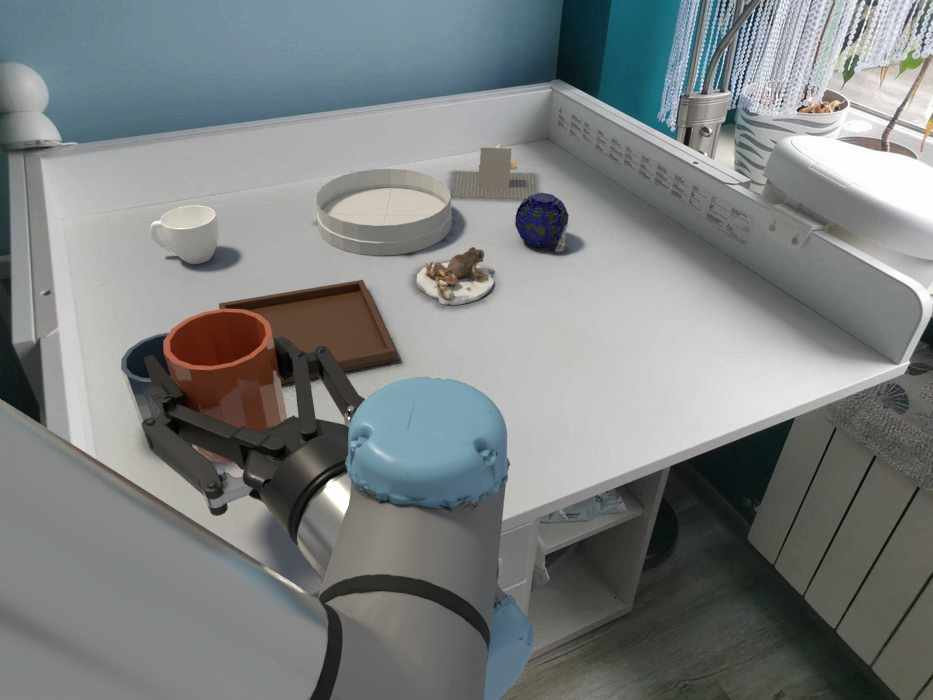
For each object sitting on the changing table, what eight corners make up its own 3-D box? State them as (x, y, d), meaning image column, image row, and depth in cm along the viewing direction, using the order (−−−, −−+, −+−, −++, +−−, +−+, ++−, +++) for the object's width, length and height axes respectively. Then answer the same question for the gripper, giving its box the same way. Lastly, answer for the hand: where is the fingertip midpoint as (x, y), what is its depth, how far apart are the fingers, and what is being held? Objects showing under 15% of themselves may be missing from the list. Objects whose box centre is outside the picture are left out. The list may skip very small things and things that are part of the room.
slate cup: (146, 462, 72) (119, 388, 66) (146, 412, 78) (122, 340, 72) (229, 444, 74) (210, 371, 68) (222, 396, 80) (205, 326, 74)
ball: (571, 236, 114) (576, 192, 109) (558, 257, 108) (563, 212, 103) (524, 227, 116) (527, 184, 111) (509, 247, 110) (512, 203, 106)
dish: (450, 257, 107) (450, 227, 104) (306, 254, 107) (302, 225, 104) (452, 196, 125) (453, 169, 122) (329, 193, 125) (326, 167, 122)
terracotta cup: (193, 472, 57) (164, 378, 51) (188, 409, 63) (162, 318, 57) (294, 450, 60) (277, 357, 53) (280, 390, 66) (264, 301, 60)
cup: (216, 270, 103) (207, 229, 99) (148, 269, 103) (136, 228, 99) (230, 245, 109) (222, 205, 105) (165, 244, 109) (155, 204, 105)
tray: (232, 394, 81) (230, 383, 80) (221, 313, 94) (218, 303, 93) (396, 361, 86) (395, 350, 85) (363, 289, 100) (362, 279, 98)
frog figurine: (457, 253, 109) (457, 230, 106) (511, 283, 102) (513, 260, 99) (398, 277, 102) (397, 254, 100) (453, 312, 95) (453, 288, 93)
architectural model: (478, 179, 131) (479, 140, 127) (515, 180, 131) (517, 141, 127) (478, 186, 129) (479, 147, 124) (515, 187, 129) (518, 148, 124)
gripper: (203, 630, 44) (89, 432, 57) (462, 475, 55) (315, 340, 68) (176, 556, 39) (59, 360, 53) (464, 403, 50) (306, 273, 64)
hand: (204, 349), depth 61 cm, fingers closed on terracotta cup, 8 cm apart
